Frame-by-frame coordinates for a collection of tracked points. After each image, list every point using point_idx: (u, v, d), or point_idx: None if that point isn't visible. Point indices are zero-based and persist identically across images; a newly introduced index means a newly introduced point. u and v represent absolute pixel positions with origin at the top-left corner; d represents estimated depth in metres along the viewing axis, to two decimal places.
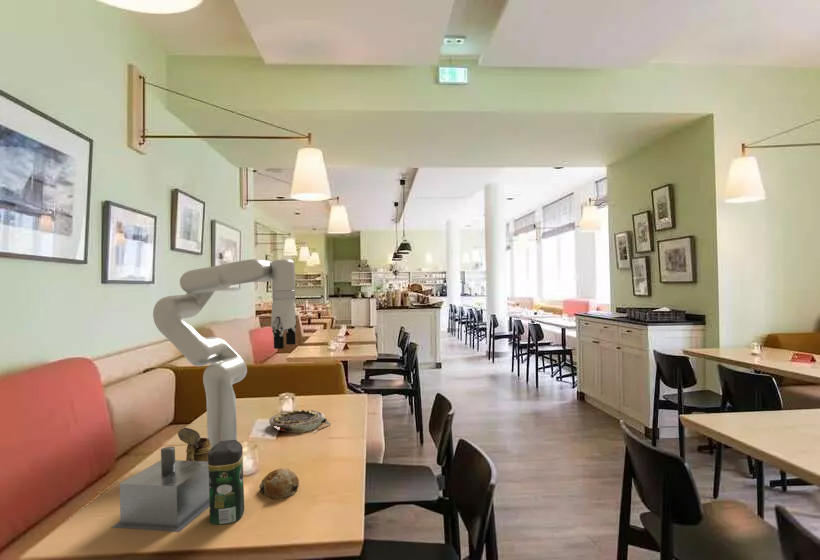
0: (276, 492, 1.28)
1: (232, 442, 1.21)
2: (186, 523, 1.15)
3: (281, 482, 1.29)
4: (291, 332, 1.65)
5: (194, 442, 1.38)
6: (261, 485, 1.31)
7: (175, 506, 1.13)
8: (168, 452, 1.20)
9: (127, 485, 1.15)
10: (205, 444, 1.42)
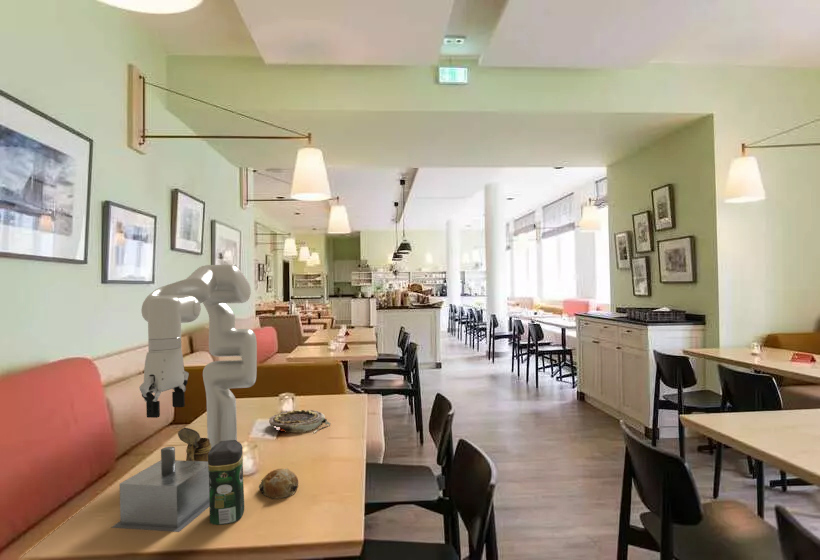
0: (275, 492, 1.28)
1: (232, 442, 1.21)
2: (186, 523, 1.15)
3: (281, 482, 1.29)
4: (179, 391, 1.26)
5: (194, 442, 1.38)
6: (260, 485, 1.31)
7: (175, 506, 1.13)
8: (168, 452, 1.20)
9: (127, 485, 1.15)
10: (205, 444, 1.42)
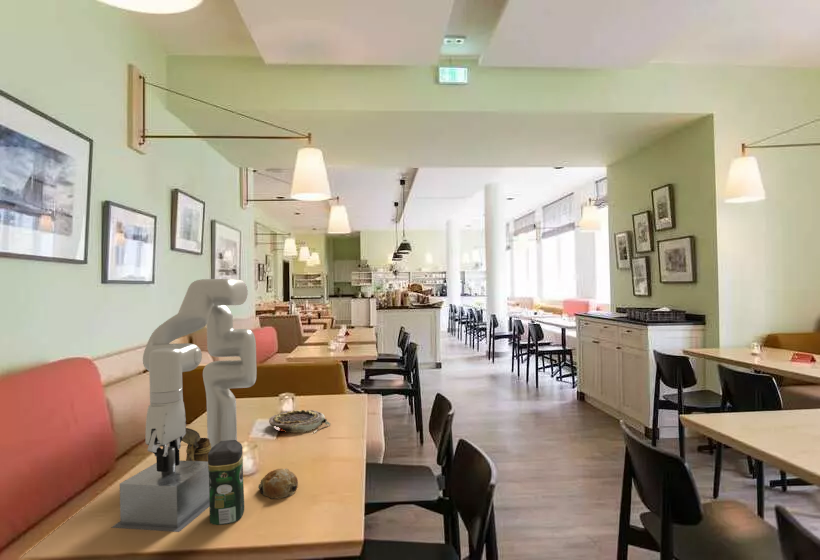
0: (275, 492, 1.28)
1: (232, 442, 1.21)
2: (186, 523, 1.15)
3: (280, 482, 1.29)
4: None
5: (194, 442, 1.38)
6: (260, 485, 1.31)
7: (175, 506, 1.13)
8: (168, 452, 1.20)
9: (127, 485, 1.15)
10: (205, 444, 1.42)
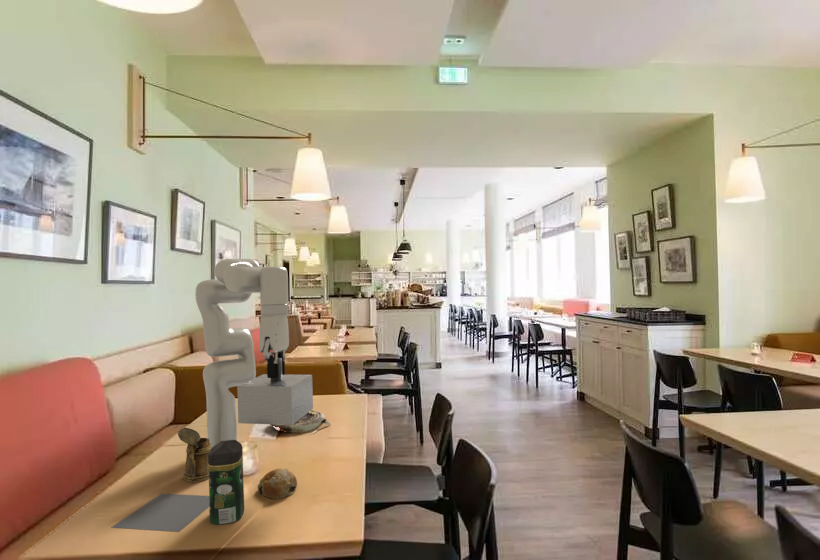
0: (274, 492, 1.28)
1: (232, 442, 1.21)
2: (186, 523, 1.15)
3: (280, 482, 1.29)
4: None
5: (194, 442, 1.38)
6: (259, 485, 1.31)
7: (290, 404, 1.24)
8: (277, 360, 1.31)
9: (244, 387, 1.26)
10: (205, 444, 1.42)
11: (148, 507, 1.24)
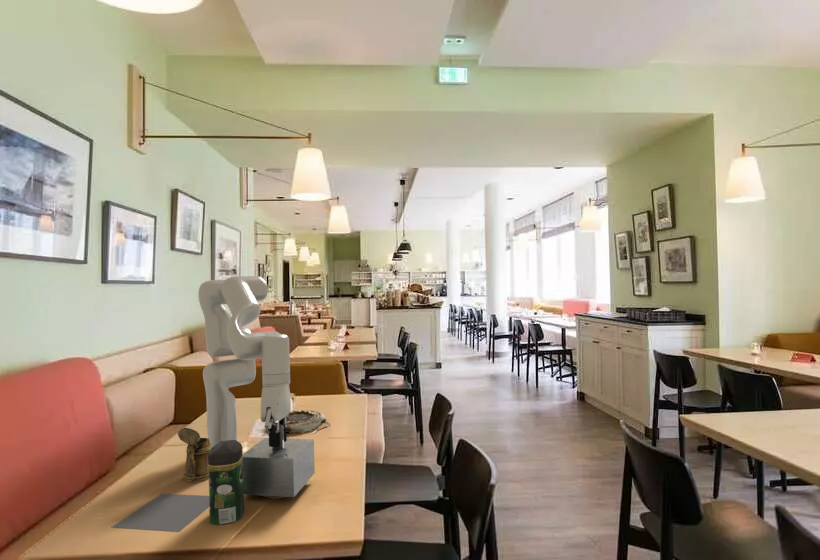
0: None
1: (232, 442, 1.21)
2: (186, 523, 1.15)
3: None
4: None
5: (194, 442, 1.38)
6: None
7: (291, 477, 1.24)
8: (279, 429, 1.31)
9: (246, 458, 1.26)
10: (205, 444, 1.42)
11: (148, 507, 1.24)
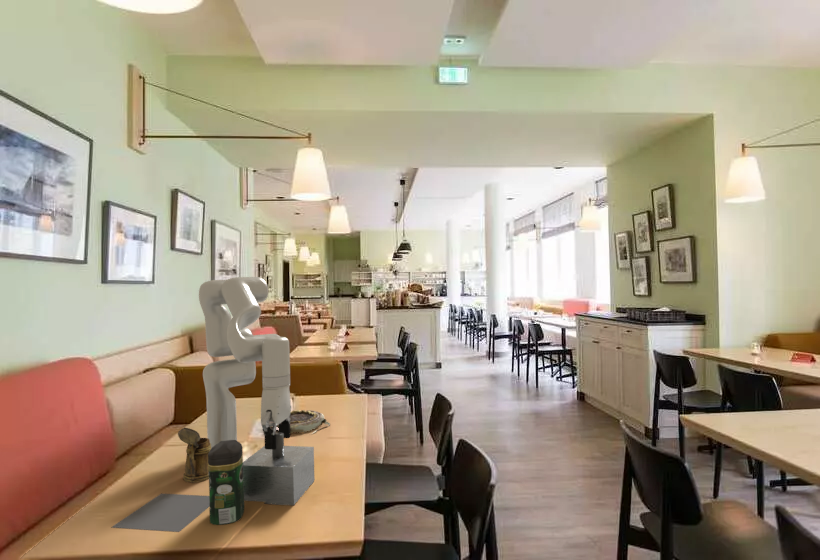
0: None
1: (232, 442, 1.21)
2: (186, 523, 1.15)
3: None
4: (285, 423, 1.37)
5: (194, 442, 1.38)
6: None
7: (291, 485, 1.24)
8: (278, 437, 1.31)
9: (246, 466, 1.26)
10: (205, 444, 1.42)
11: (148, 507, 1.24)
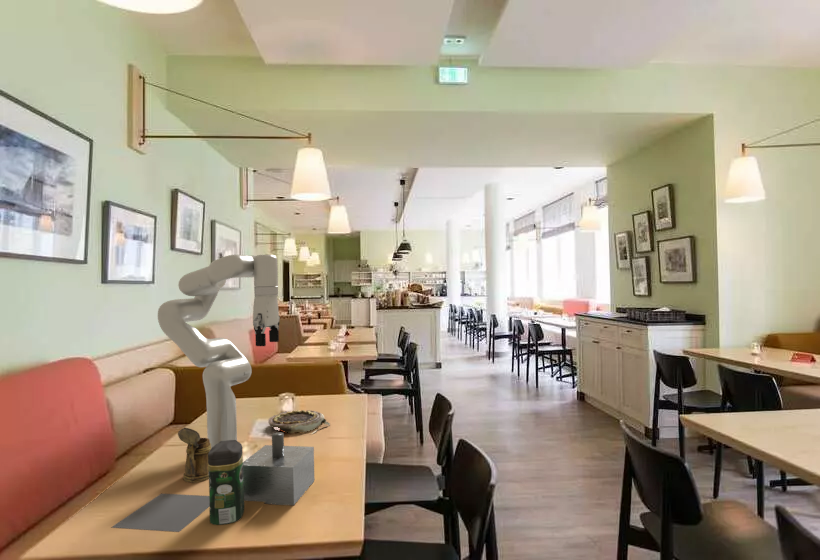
0: None
1: (232, 442, 1.21)
2: (186, 523, 1.15)
3: None
4: (274, 329, 1.61)
5: (194, 442, 1.38)
6: None
7: (291, 485, 1.24)
8: (278, 437, 1.31)
9: (246, 466, 1.26)
10: (205, 444, 1.42)
11: (148, 507, 1.24)
